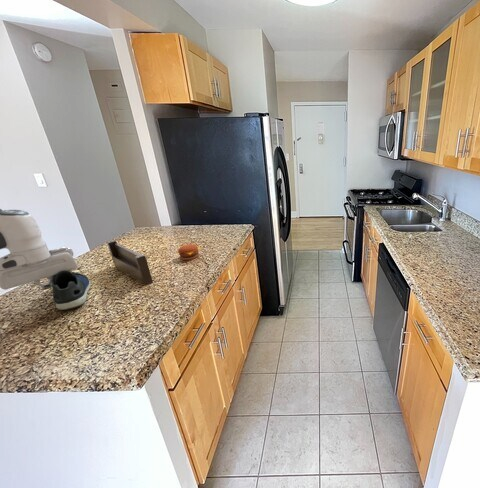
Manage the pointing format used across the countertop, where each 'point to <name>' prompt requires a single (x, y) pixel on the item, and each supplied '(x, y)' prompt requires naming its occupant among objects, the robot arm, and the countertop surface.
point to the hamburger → (188, 252)
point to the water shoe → (69, 289)
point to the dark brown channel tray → (130, 262)
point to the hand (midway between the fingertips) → (47, 288)
